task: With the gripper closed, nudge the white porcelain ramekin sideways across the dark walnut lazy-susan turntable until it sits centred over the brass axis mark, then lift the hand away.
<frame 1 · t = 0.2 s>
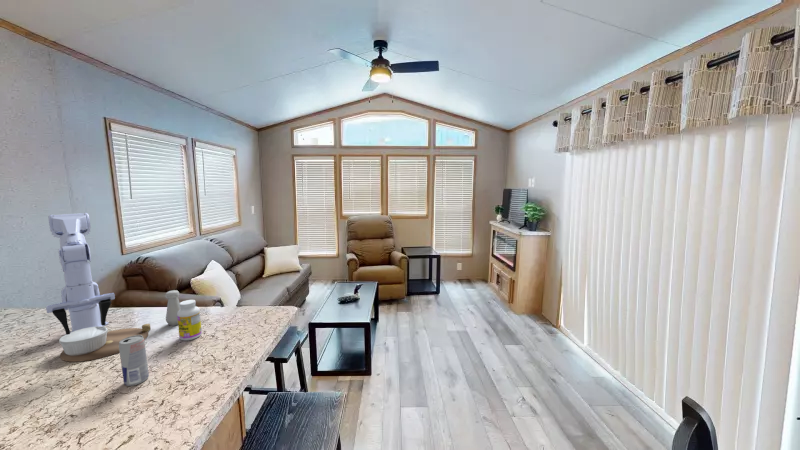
hand: (86, 329, 96), 10 cm above the countertop, tool pointing down, fingers open, 7 cm apart
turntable: (106, 340, 108), point 1 cm above the countertop, hinge at 0.0°, touching ramekin
ramekin: (86, 349, 105), resting on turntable
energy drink: (136, 381, 88), on the countertop
salt shaker: (175, 324, 124), on the countertop
supplement bottle: (191, 337, 113), on the countertop
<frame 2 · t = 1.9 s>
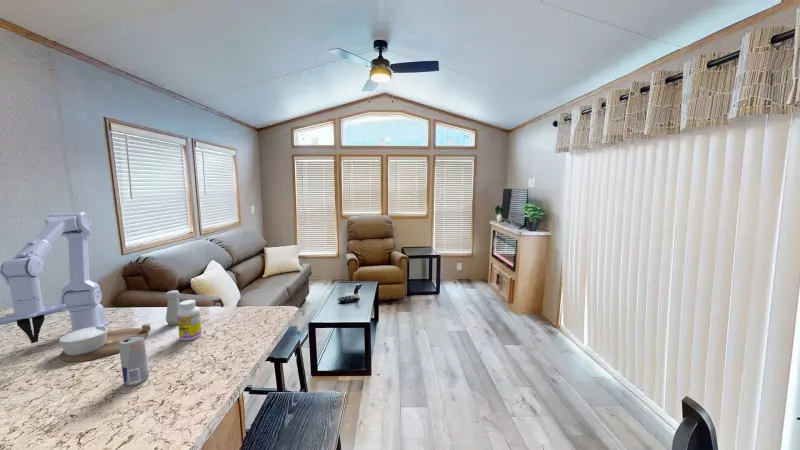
hand: (34, 341, 96), 7 cm above the countertop, tool pointing down, fingers closed
nothing on the countertop moved.
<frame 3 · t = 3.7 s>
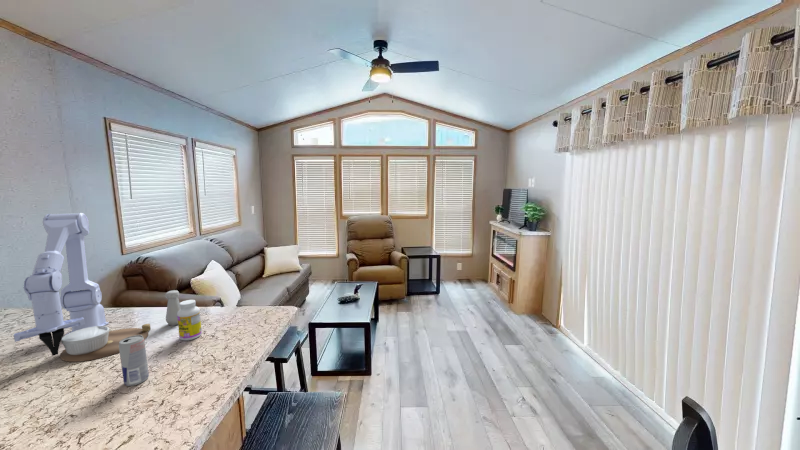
hand: (55, 353, 99), 2 cm above the countertop, tool pointing down, fingers closed
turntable: (106, 340, 108), point 1 cm above the countertop, hinge at 0.0°
ramekin: (88, 348, 105), resting on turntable, touching gripper
everything else where it was.
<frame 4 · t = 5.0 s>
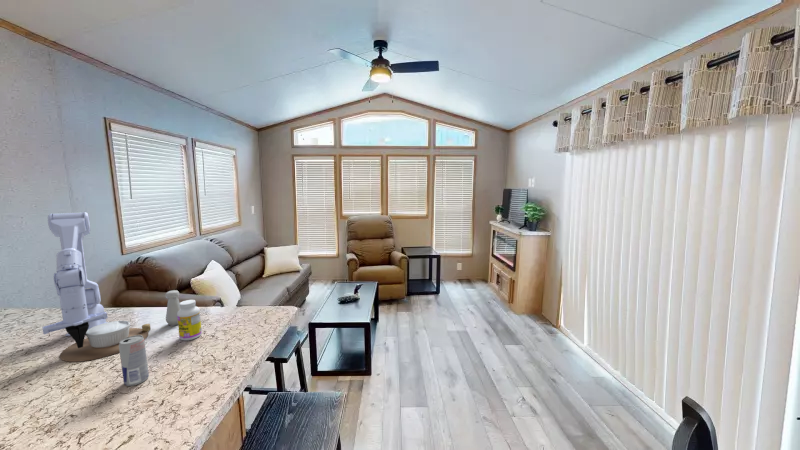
hand: (80, 346, 103), 2 cm above the countertop, tool pointing down, fingers closed
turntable: (106, 340, 108), point 1 cm above the countertop, hinge at 0.0°, touching ramekin
ramekin: (110, 342, 109), resting on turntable, touching gripper
everything else where it was.
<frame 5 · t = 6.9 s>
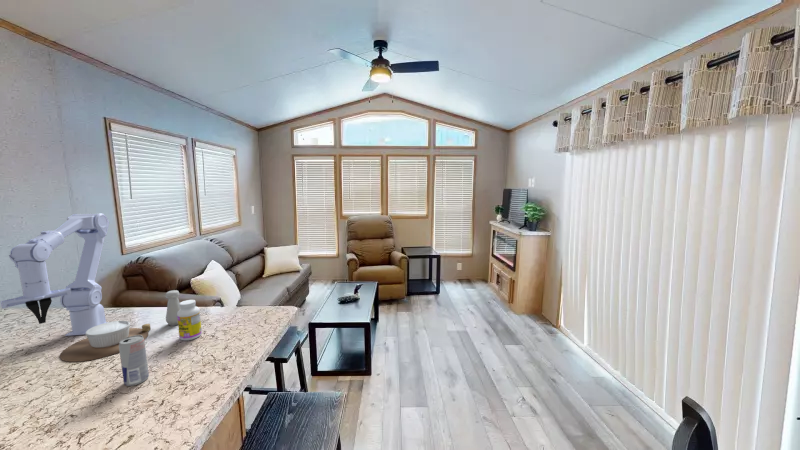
hand: (42, 322, 102), 10 cm above the countertop, tool pointing down, fingers closed
ramekin: (110, 342, 109), resting on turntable
everything else where it was.
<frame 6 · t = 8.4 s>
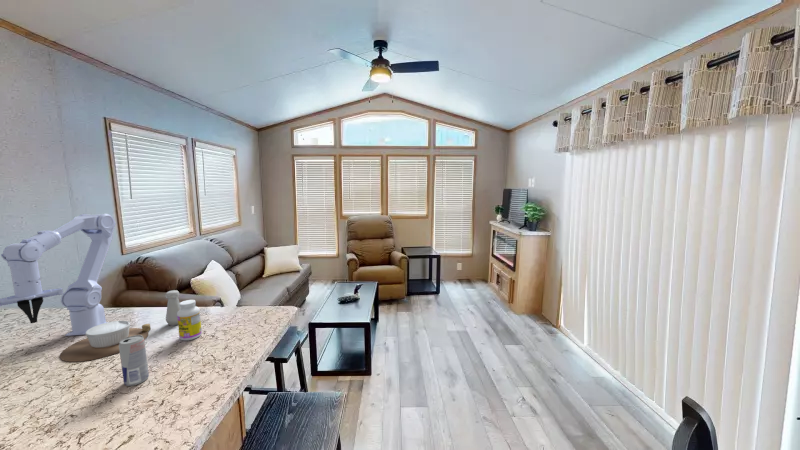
hand: (33, 322, 102), 10 cm above the countertop, tool pointing down, fingers closed
nothing on the countertop moved.
at the end: ramekin 0.9 cm from the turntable (horizontally); ramekin tilted 0°; ramekin touching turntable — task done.
